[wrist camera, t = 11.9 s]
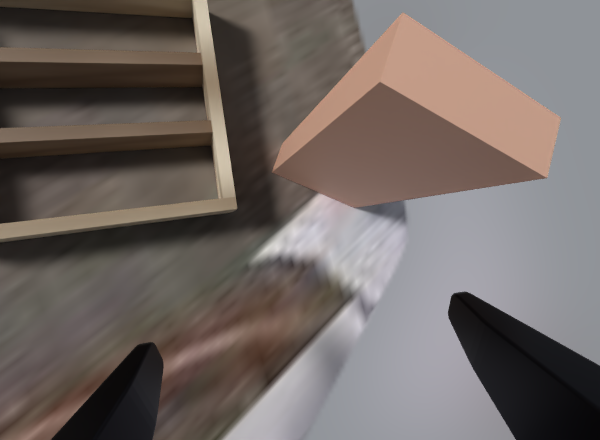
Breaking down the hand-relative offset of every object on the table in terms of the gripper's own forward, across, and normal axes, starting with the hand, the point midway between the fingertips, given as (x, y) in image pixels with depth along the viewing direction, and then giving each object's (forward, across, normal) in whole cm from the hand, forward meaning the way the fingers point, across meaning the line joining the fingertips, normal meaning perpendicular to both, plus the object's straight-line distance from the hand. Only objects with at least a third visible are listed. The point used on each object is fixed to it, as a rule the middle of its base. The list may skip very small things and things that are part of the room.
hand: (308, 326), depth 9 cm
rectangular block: (+12, -2, 0) cm, 12 cm away
